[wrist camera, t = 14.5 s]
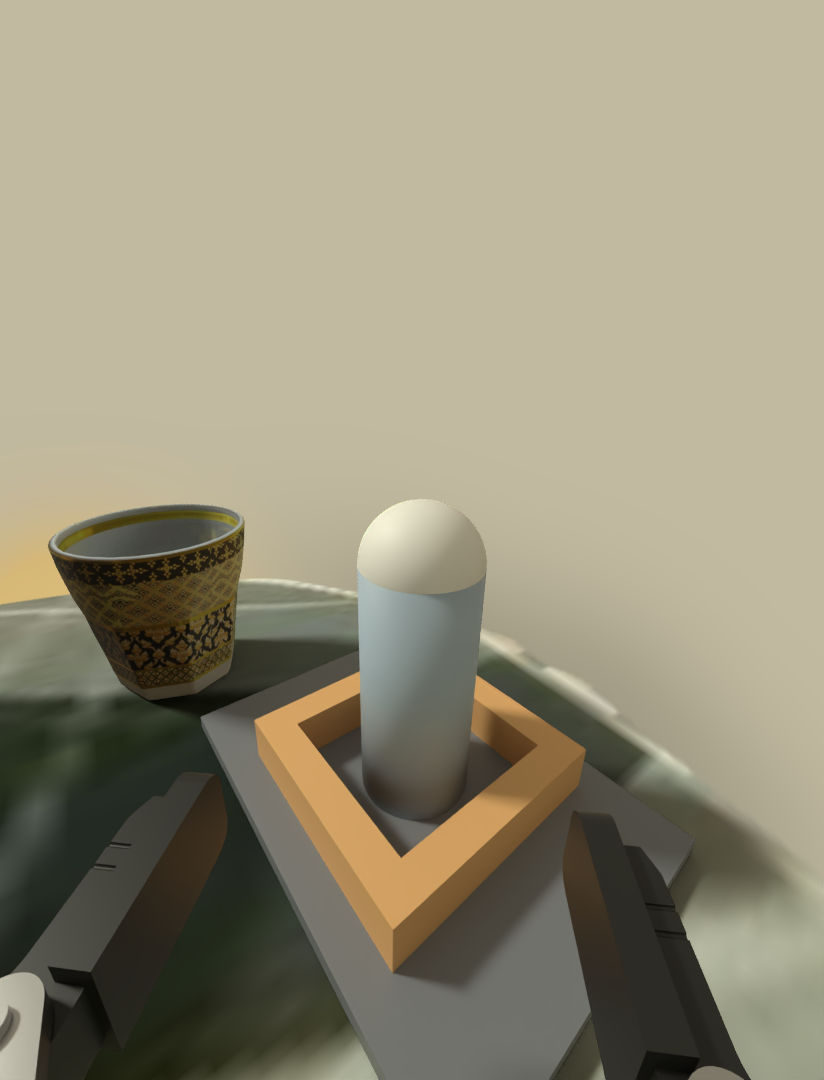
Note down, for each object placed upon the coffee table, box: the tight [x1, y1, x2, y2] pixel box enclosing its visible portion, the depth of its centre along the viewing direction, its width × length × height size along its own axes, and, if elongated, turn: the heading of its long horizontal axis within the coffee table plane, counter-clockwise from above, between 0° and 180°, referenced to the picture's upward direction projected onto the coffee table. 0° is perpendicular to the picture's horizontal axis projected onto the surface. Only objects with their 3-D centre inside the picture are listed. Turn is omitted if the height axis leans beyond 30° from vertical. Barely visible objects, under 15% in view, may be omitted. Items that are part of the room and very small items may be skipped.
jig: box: [201, 650, 696, 1080], centre depth 21 cm, size 20×14×3 cm
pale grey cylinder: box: [357, 499, 487, 820], centre depth 19 cm, size 5×5×14 cm
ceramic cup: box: [48, 504, 244, 700], centre depth 28 cm, size 13×10×10 cm
